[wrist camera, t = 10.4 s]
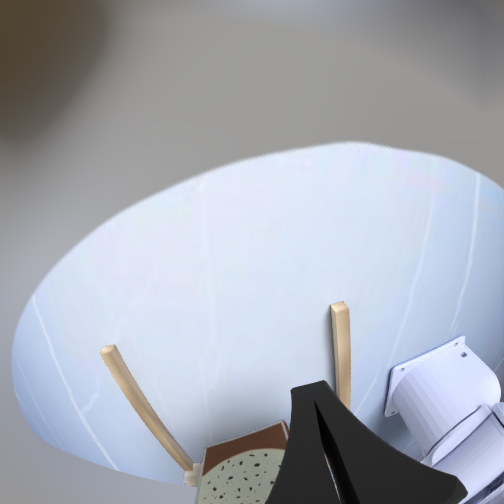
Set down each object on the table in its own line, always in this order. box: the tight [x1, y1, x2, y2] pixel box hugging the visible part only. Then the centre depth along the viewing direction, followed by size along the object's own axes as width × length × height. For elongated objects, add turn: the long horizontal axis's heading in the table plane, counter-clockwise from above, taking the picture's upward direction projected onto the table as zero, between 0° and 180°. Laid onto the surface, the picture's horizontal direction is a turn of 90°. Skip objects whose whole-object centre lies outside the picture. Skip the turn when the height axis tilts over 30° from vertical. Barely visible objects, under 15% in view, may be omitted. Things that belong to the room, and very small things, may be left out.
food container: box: [195, 419, 289, 504], centre depth 19 cm, size 12×6×10 cm, turn 122°
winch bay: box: [100, 302, 351, 486], centre depth 20 cm, size 19×21×5 cm
